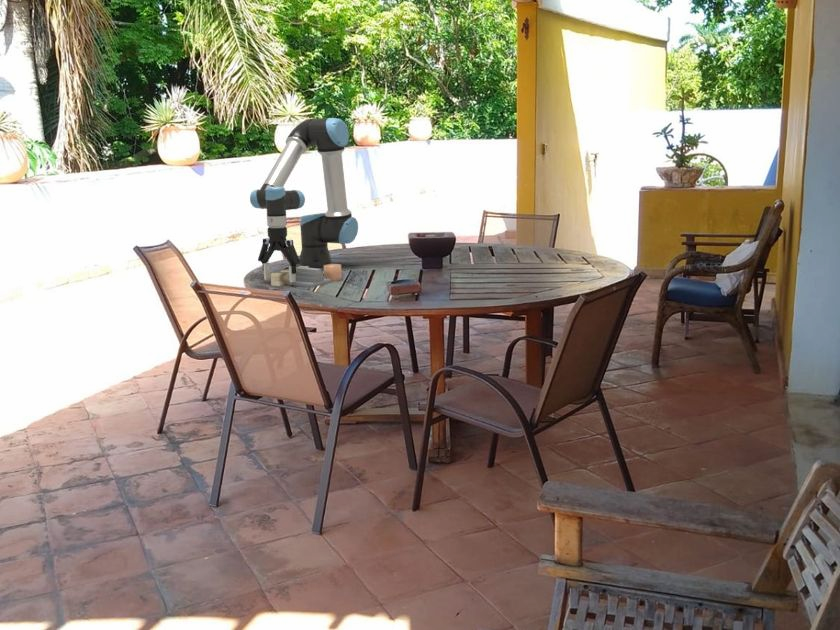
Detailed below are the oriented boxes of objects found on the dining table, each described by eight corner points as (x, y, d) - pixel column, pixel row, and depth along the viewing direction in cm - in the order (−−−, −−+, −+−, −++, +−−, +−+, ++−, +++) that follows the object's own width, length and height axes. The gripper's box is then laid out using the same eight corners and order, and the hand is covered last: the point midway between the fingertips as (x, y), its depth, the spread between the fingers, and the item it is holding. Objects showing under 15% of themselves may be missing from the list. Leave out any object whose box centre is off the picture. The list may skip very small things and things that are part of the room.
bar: (301, 277, 335) (300, 265, 334) (309, 278, 334) (308, 266, 332) (271, 286, 318) (270, 273, 317) (279, 286, 316) (278, 274, 315)
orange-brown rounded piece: (331, 277, 333) (331, 263, 331) (345, 279, 329) (344, 264, 328) (320, 280, 327) (320, 265, 326) (334, 282, 323) (333, 267, 322)
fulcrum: (307, 279, 329) (307, 265, 327) (330, 282, 322) (330, 267, 321) (287, 284, 319) (287, 269, 317) (311, 287, 312) (310, 272, 311)
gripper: (247, 226, 319) (250, 279, 324) (294, 229, 306) (297, 284, 311) (260, 224, 325) (263, 276, 330) (307, 227, 312) (310, 281, 317)
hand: (279, 280), depth 320 cm, fingers open, 13 cm apart
